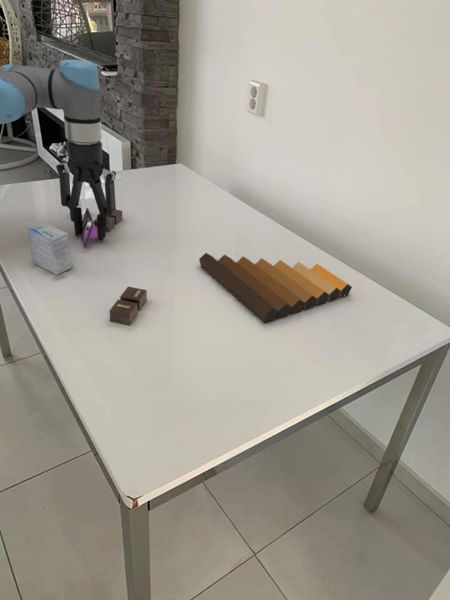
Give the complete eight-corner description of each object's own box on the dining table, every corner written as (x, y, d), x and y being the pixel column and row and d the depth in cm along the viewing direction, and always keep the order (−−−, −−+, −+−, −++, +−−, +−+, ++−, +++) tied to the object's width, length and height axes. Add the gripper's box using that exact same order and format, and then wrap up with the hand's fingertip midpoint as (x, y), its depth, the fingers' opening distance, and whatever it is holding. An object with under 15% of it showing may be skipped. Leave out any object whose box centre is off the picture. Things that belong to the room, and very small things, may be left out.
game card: (83, 206, 111) (89, 222, 104) (104, 212, 114) (110, 227, 107) (76, 230, 114) (80, 247, 107) (96, 235, 117) (102, 251, 110)
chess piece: (92, 212, 125) (89, 177, 120) (80, 218, 121) (77, 182, 116) (78, 208, 127) (74, 173, 121) (65, 214, 123) (62, 178, 117)
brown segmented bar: (109, 321, 86) (109, 309, 84) (128, 296, 93) (128, 285, 92) (129, 325, 85) (129, 314, 84) (146, 300, 92) (146, 289, 91)
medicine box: (72, 268, 100) (69, 233, 95) (56, 276, 97) (51, 239, 92) (49, 256, 103) (44, 221, 98) (32, 263, 100) (26, 227, 95)
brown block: (94, 229, 117) (93, 220, 115) (108, 216, 124) (108, 207, 123) (108, 232, 116) (108, 222, 115) (122, 219, 124) (122, 210, 122)
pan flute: (198, 266, 106) (262, 324, 89) (199, 254, 104) (265, 310, 87) (280, 247, 118) (349, 294, 102) (282, 235, 117) (353, 282, 100)
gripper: (130, 142, 101) (131, 236, 114) (54, 130, 103) (63, 223, 116) (116, 151, 95) (119, 249, 107) (35, 137, 97) (48, 235, 110)
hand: (90, 236), depth 112 cm, fingers closed on game card, 5 cm apart
